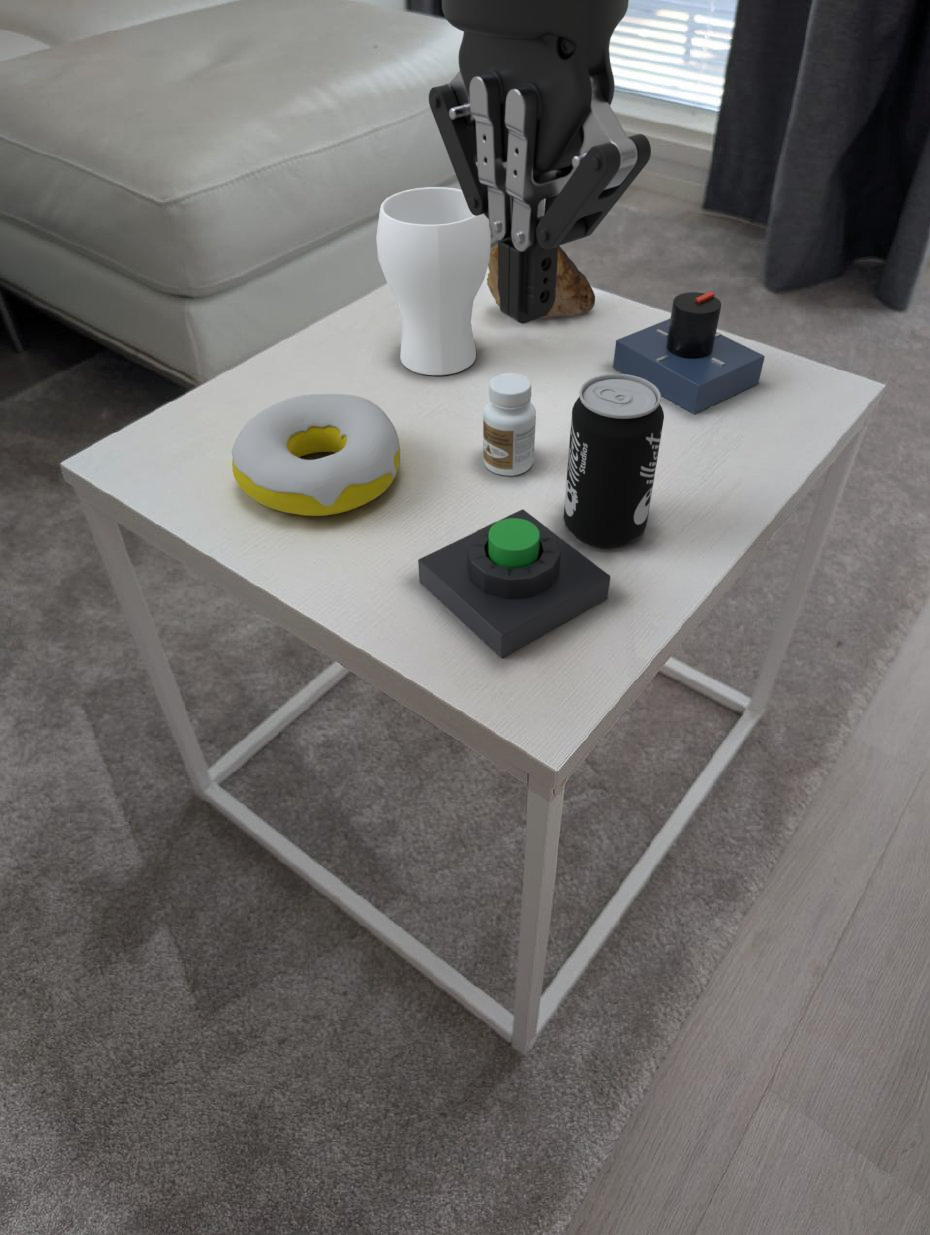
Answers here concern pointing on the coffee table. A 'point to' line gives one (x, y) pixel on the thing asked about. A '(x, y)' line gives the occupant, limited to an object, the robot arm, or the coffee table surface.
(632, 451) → the beverage can
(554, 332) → the coffee table surface
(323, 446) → the donut
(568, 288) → the decorative rock
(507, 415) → the pill bottle
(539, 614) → the button block
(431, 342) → the cup
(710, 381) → the control panel
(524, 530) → the button
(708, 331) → the program dial
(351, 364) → the coffee table surface
